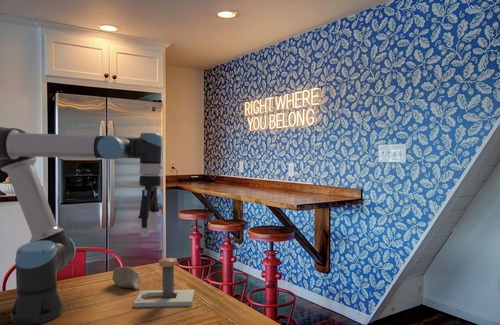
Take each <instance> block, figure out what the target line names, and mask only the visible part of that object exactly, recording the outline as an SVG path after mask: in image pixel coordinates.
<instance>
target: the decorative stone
mask: <svg viewBox="0 0 500 325" xmlns="http://www.w3.org/2000/svg"><path fill="white" fill-rule="evenodd" d="M111 278H112V281H113V282H114V284H115V286H117V287H118V288H128V289H129V288H130V289H134V290H135V291H138V290H140V285H139V284H141V283H140V282H141V278H140V276H139V274H138V272H137V271H136V270H135V269H134V268H132V267H130V266H119V267H114V268H113V273H112V277H111Z"/></svg>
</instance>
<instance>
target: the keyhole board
mask: <svg viewBox="0 0 500 325" xmlns="http://www.w3.org/2000/svg"><path fill="white" fill-rule="evenodd" d="M195 293H196V291H195V289H174V298H173V299H163V298H160V299H146V298H149V297H153V298H154V297H163V289H159V290H158V289H157V290H156V289H155V290H151V289H150V290H140V292H139V293H138V295H137V297H136V299H135V300H134V301H133V308H146V307H147V308H150V307H151V308H155V307H188V306H189V307H192V306H193V303H194V297H195Z"/></svg>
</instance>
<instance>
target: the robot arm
mask: <svg viewBox="0 0 500 325" xmlns="http://www.w3.org/2000/svg"><path fill="white" fill-rule="evenodd" d="M37 157H39V158H67V159H68V158H70V159H71V158H73V159H78V158H79V159H105V160H106V159H107V160H116V159H117V160H118V159H119V160H120V159H137V160H138V159H139V174H140V175H139V180H138V181H139V183H138V184H139V186H140V187H144V189H142V190H141V200H140V201H141V202H140V209H139V214H138V219H140V237H141V238H149V237H150V230H157V225H158V224H157V223H158V221H157V220H158V219H157V218H158V213H159V212H160V209H159V204H158V187H160V186H161V181H162V180H161V175H160V174H161V171H162V169H163V166H162V136H161V134H160V133H157V132H142V133H140V136H139V137H135V138H134V137H122V136H116V135H90V134H89V135H88V134H85V135H84V134H61V133H60V134H58V133H57V134H56V133H55V134H54V133H30V132H27V131H25V130H23V129H20V128H15V127H10V128H9V127H1V126H0V170H1V171H2V172H4V173H6V174H7V175H8V178H9V181H10V183H11V186H12V188H13V191H14V193H15V196H16V198H17V201H18V204H19V205H20V208H21V211H22V213H23V216H24V218H25V221H26V223H27V226H28V229H29V231H30V234H31V238H30V240H29V242H27V243H25V244H22V245H21V246H20V247H18V248H17V249H16V252H15V258H14V262H15V282H16V283H15V284H16V285H15V286H16V296H15V299H14V302H13V304H12V308H11V311H10V322H11V323H12V324H14V325H38V324H42V323H46V322H49V321H52V320H54V319H56V318H58V317H59V316H61V315H62V314H63V312H64V305H63V301H62V299H61V297H60V294H59V291H58V286H57V284H58V282H57V280H58V278H57V274H58V273H59V272H60V271H63V270H64V269H65V268H66V267H67V266H69V265H70V264H71V263H72V261H73V260H74V258H75V255H76V252H77V247H76V244H75V242H74V240H72V239H71V237H69V236H67V234H66V232H65V230H64V228H62V227H59V226H58V224H57V221H56V219H55V216H54V214H53V212H52V209H51V206H50V204H49V201H48V199H47V197H46V194H45V190H44V189H43V185H42V184H41V180H40V178H39V175H38V172H37V171H36V168H35V163H36V161H37Z"/></svg>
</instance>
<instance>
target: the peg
mask: <svg viewBox="0 0 500 325" xmlns="http://www.w3.org/2000/svg"><path fill="white" fill-rule="evenodd" d="M177 264H178V259H177V258H174V257H164V258H163V257H162V258H161V259H159V260H158V266H159V267H161V268H162V272H161V273H162V290H163V296H162V299H173V298H175V297H174V290H175V281H174V280H175V278H174V277H175V271H174V270H175V269H174V268H175V266H177Z"/></svg>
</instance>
